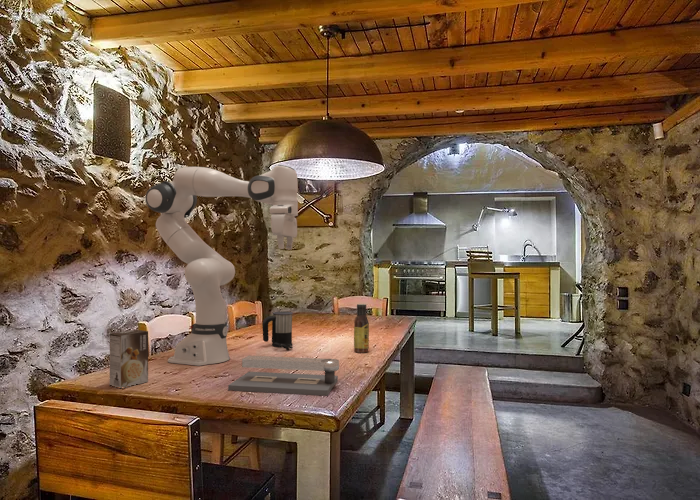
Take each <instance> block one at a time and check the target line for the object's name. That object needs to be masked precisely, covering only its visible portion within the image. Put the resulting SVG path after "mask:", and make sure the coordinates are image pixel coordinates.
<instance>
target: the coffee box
mask: <svg viewBox="0 0 700 500" xmlns="http://www.w3.org/2000/svg"><path fill="white" fill-rule="evenodd" d="M147 382H149V331H148V330H139V329H132V330H125V331H120V332H113V333H109V386H110V385H112V386H115V387H114V388H116V387H120V388H122V387H126V388H128V387H127V386H130V387H132V386H131V385H134V386H137V385H136V384H138V385H140V384H145V383H147ZM112 386H111V387H112Z"/></svg>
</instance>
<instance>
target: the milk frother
mask: <svg viewBox="0 0 700 500" xmlns="http://www.w3.org/2000/svg"><path fill="white" fill-rule="evenodd" d="M272 314H273V315H268V316H266V317H265V318H264V319H263V321H262V340H263V341H264V342H265V343H266V342H269V323H270V322H272V323H271V324H272V325H271V346H272V347H274V348H283V349H285V350H286V351H288V350H290V349H293V314H294V313H293V312H292V311H274V312H272Z"/></svg>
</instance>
